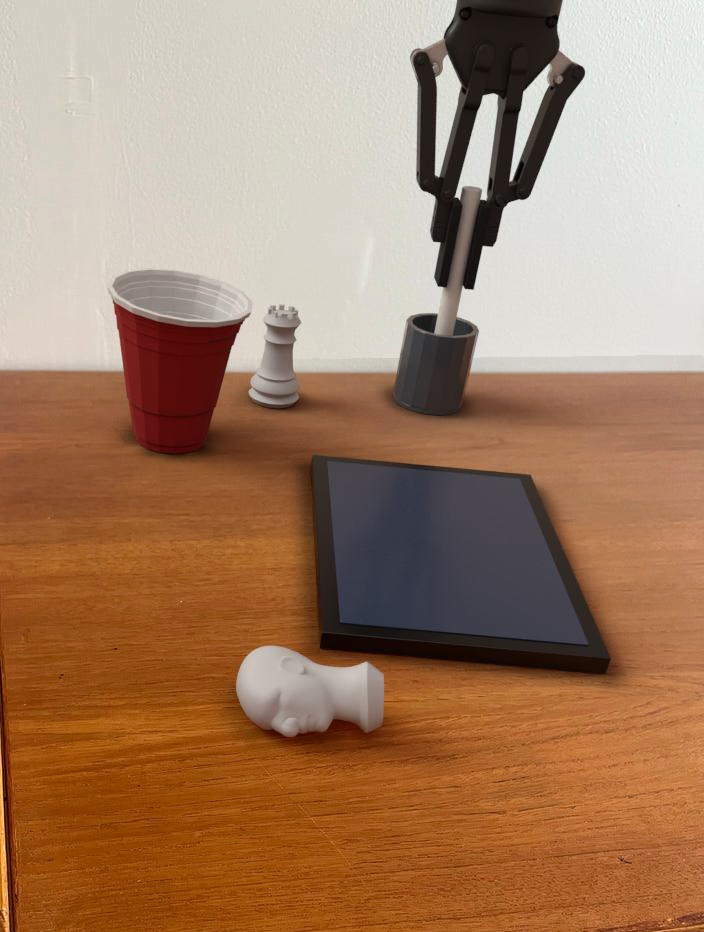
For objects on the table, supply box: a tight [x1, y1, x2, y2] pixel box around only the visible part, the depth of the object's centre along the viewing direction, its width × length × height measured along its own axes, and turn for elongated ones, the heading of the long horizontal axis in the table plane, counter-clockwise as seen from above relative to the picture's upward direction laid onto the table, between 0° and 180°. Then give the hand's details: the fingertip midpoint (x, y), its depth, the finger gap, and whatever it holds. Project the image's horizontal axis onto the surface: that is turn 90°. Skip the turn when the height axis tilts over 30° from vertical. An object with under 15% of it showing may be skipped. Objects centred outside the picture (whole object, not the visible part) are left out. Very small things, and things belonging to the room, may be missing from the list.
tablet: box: [309, 454, 612, 675], centre depth 70 cm, size 17×24×1 cm
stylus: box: [434, 185, 483, 336], centre depth 87 cm, size 2×2×16 cm
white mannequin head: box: [235, 645, 385, 738], centre depth 54 cm, size 4×8×5 cm
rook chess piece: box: [248, 303, 302, 409], centre depth 89 cm, size 4×4×8 cm
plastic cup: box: [106, 268, 253, 454], centre depth 79 cm, size 11×11×12 cm
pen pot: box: [392, 312, 480, 416], centre depth 91 cm, size 6×6×7 cm
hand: (453, 282), depth 87 cm, fingers closed on stylus, 1 cm apart
